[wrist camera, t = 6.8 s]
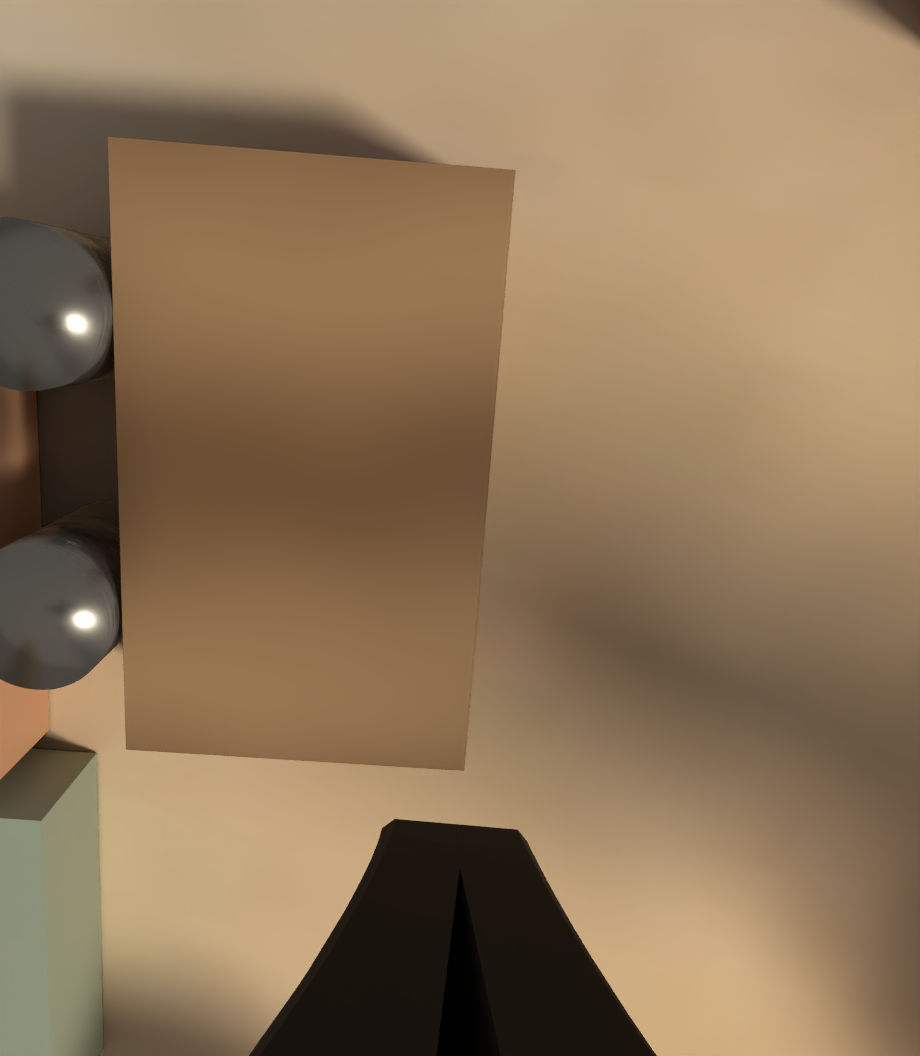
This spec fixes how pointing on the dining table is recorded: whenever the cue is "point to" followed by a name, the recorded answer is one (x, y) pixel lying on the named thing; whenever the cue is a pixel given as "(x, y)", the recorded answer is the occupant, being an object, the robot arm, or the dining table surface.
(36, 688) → the cylinder
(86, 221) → the dining table surface
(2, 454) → the dish
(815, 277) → the dining table surface
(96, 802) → the socket block
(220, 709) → the brown wooden block
